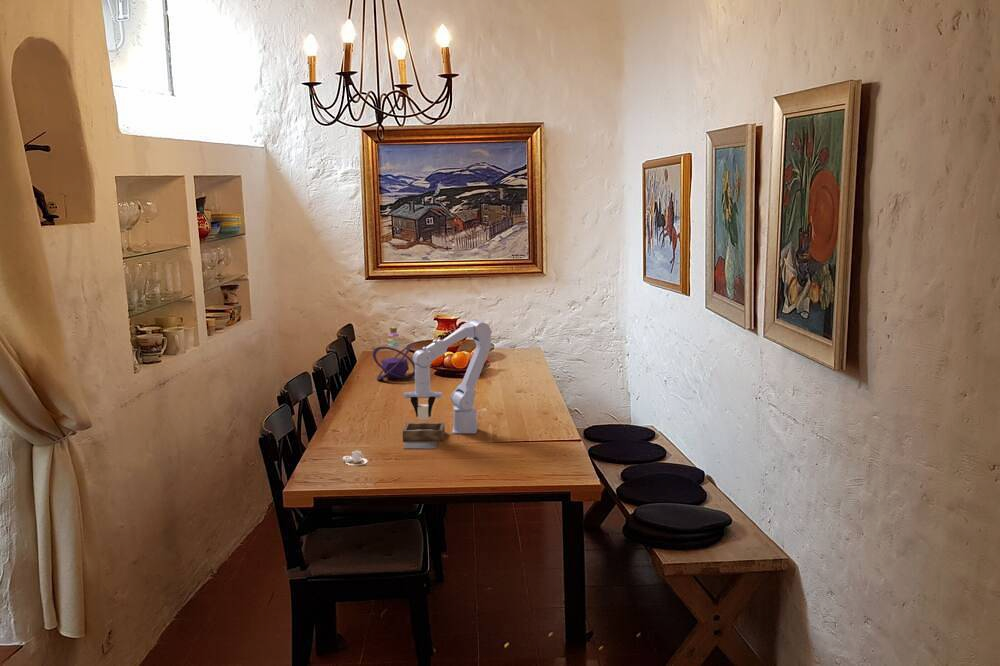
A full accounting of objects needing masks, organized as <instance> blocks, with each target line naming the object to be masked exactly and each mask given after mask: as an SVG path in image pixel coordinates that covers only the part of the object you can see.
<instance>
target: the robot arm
mask: <svg viewBox="0 0 1000 666" xmlns="http://www.w3.org/2000/svg"><path fill="white" fill-rule="evenodd" d="M466 338H471V339H473V341H474V343H475V345H476V346H475V349H474V352H473V354H472V357H471V359H470V361H469V364H468V365H467V368H466V372H465V374H464V376H463V378H462V381H461V383H459V384H458V385H457V386H456V388H455V389H454V391H453V392H452V393H451V395H450V402H451V403H452V404H453V406H452V407H453V427H452V432H451V433H452V434H477V433H478V428H479V422H478V409H477V408H473V407H474V405H475V397H476V390H475V387H476V386H477V383H478V380H479V379H480V375H481V372H482V371H483V368H484V365H485V363H486V361H487V359H488V356H489V353H490V350H491V349H492V348H491V347H492V330H491V327H490V325H489V324H488V323H486V322H482V321H480V320H478V319H471V320H469V321H468V322H465V323H463V324H462V326H460V327H459V328H458V329H456V330H455V331H453V332H452V333H450V334H449V335H448V336H446V337H445V338H444V339H439V338H438V339H433V340H432V342H431V343H430V344H428V345H426V346H423V347H422V349H418V350H416V351H414V354H413V355H412V357H411V360H412V361H413V362H414V364H415V376H414V388H415V390H414V391H409V392H408V391H407V392H406V391H405V392H404V393H403V399H410V403H411V405H412V406H413V409H414V411H415V412H414V413H415V417H416V418H418V405H419V399H428V400H427V403H428V406H429V412H428V416H429V418H430V417H431V416H432V410H433V406H434V403H435V401H436V399H443V392H442V391H432V390H431V365H432V363H433V361H434V360H436V359H437V358H439V357H441V356H442V355H443V354H445V353H447V350H448V348H449V347H451V346H453V345H454V344H456V343H457V342H459V341H462V340H463V339H466Z"/></svg>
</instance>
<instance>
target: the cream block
mask: <svg viewBox="0 0 1000 666" xmlns="http://www.w3.org/2000/svg"><path fill="white" fill-rule="evenodd" d="M428 412H429V406H428V404H421V403H420V404H418V417H417V420H418V421H429V419H430V417H429V416H428Z"/></svg>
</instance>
